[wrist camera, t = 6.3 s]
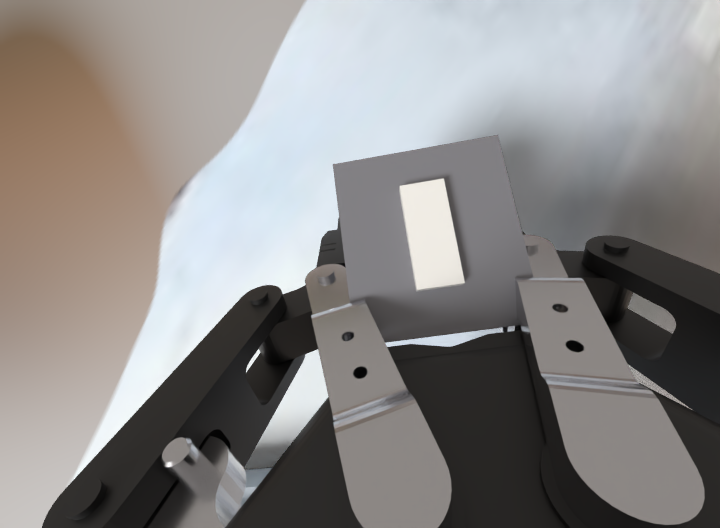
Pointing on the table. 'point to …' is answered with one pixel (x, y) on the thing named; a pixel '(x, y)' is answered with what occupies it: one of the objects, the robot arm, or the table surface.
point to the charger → (432, 239)
